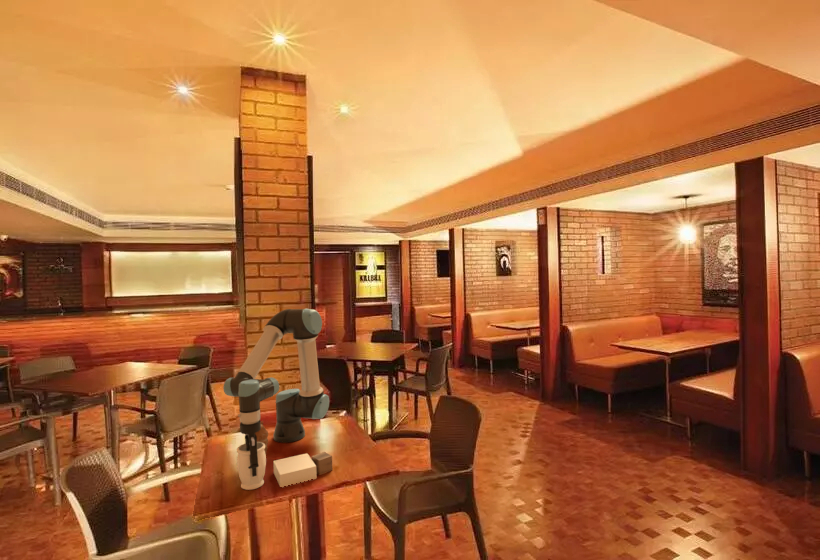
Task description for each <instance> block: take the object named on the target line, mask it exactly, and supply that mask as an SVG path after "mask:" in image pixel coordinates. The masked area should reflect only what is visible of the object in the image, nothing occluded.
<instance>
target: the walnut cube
mask: <svg viewBox="0 0 820 560" xmlns="http://www.w3.org/2000/svg"><path fill="white" fill-rule="evenodd" d="M311 459H312V461H313V462H314V464H315V465H316V473H317V475H319V476H321V475H325V474H326V473H328V472H331V471H333V455H331V454H329V453H327V452H325V451H322V452H320V453H317V454H314V455H311Z"/></svg>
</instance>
